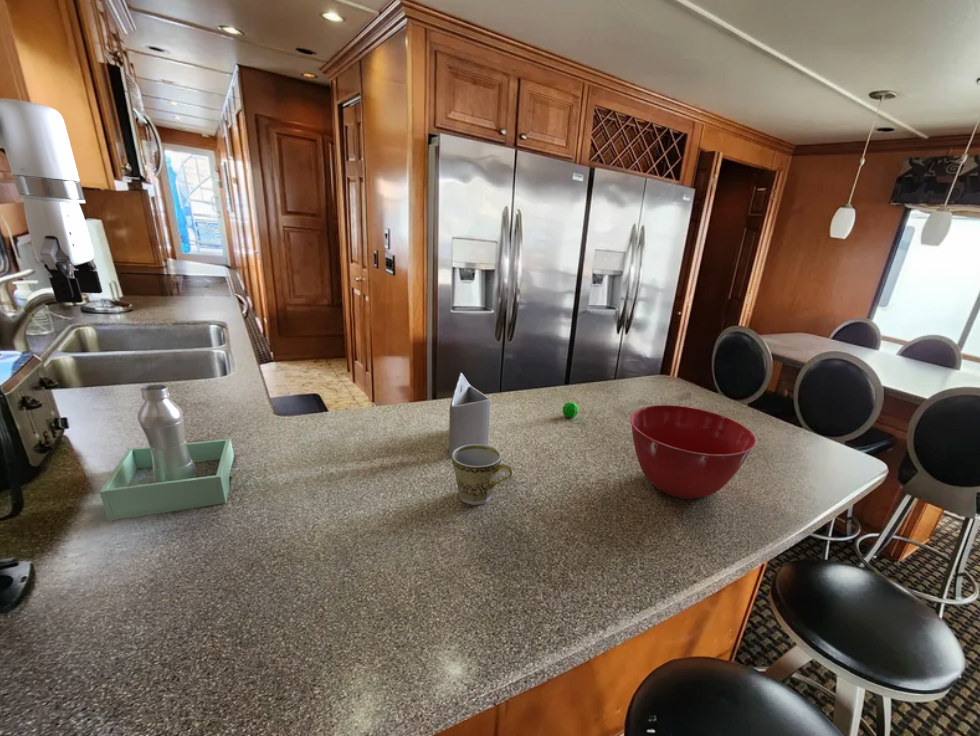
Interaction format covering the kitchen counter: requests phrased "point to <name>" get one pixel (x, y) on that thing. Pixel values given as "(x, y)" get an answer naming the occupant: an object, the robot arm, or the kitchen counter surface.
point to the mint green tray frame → (167, 483)
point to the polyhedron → (570, 409)
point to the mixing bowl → (689, 448)
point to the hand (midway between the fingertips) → (81, 297)
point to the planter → (468, 416)
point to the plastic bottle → (165, 435)
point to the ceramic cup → (477, 472)
